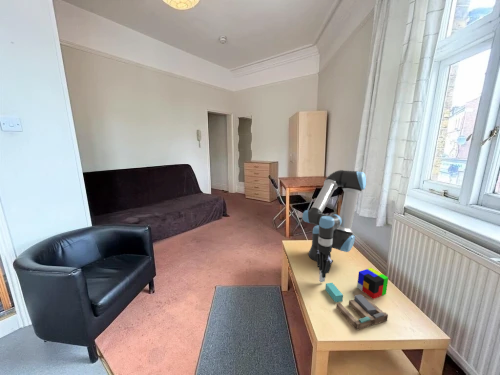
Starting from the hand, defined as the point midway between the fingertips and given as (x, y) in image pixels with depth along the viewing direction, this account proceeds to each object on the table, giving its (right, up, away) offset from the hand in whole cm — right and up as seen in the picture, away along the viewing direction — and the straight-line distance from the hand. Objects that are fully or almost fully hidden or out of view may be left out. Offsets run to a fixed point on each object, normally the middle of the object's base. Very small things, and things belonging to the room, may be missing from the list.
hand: (321, 281), depth 121 cm
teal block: (+3, -4, -9) cm, 10 cm away
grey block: (+14, -6, -18) cm, 24 cm away
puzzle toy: (+26, -3, -6) cm, 26 cm away
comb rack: (+11, -6, -22) cm, 25 cm away
